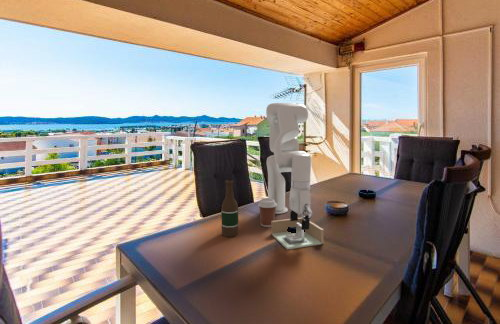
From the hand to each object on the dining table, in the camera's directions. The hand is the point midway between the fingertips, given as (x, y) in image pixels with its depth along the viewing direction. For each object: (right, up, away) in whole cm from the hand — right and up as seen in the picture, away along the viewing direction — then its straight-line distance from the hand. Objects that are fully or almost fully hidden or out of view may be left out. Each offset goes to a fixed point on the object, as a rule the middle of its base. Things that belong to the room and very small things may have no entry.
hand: (299, 224), depth 110 cm
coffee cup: (-12, -5, +20) cm, 23 cm away
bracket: (-2, -6, -1) cm, 6 cm away
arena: (-1, -6, +2) cm, 7 cm away
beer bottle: (-29, -6, +8) cm, 31 cm away
